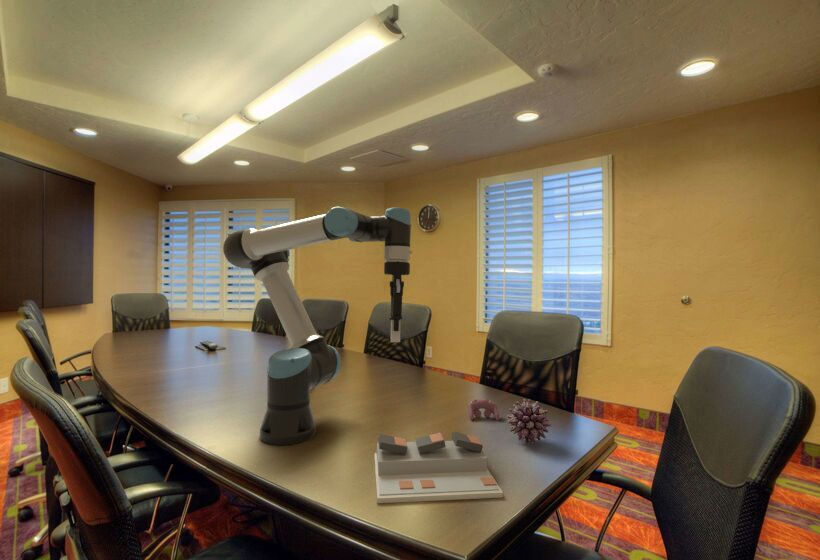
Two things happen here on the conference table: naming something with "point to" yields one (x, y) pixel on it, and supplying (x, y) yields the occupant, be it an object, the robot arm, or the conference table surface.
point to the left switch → (392, 444)
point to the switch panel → (433, 475)
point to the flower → (528, 421)
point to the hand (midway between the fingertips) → (395, 341)
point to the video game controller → (482, 404)
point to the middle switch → (430, 442)
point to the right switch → (467, 441)
